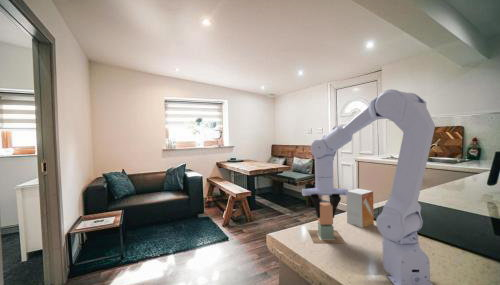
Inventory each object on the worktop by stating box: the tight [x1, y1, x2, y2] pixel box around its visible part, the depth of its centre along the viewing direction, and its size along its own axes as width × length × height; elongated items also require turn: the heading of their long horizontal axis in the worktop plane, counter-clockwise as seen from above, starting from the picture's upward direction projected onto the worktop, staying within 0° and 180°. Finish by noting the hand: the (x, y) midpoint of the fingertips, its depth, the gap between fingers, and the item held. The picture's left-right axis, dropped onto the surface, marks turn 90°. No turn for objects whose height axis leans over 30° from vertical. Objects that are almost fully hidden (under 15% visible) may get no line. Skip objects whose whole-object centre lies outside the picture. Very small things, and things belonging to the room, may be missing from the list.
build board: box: [307, 229, 347, 245], centre depth 71 cm, size 10×10×1 cm
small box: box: [345, 188, 375, 229], centre depth 82 cm, size 8×6×13 cm
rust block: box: [317, 202, 334, 225], centre depth 71 cm, size 4×4×6 cm
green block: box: [317, 221, 334, 239], centre depth 71 cm, size 4×4×4 cm
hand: (325, 217), depth 71 cm, fingers closed on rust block, 4 cm apart
